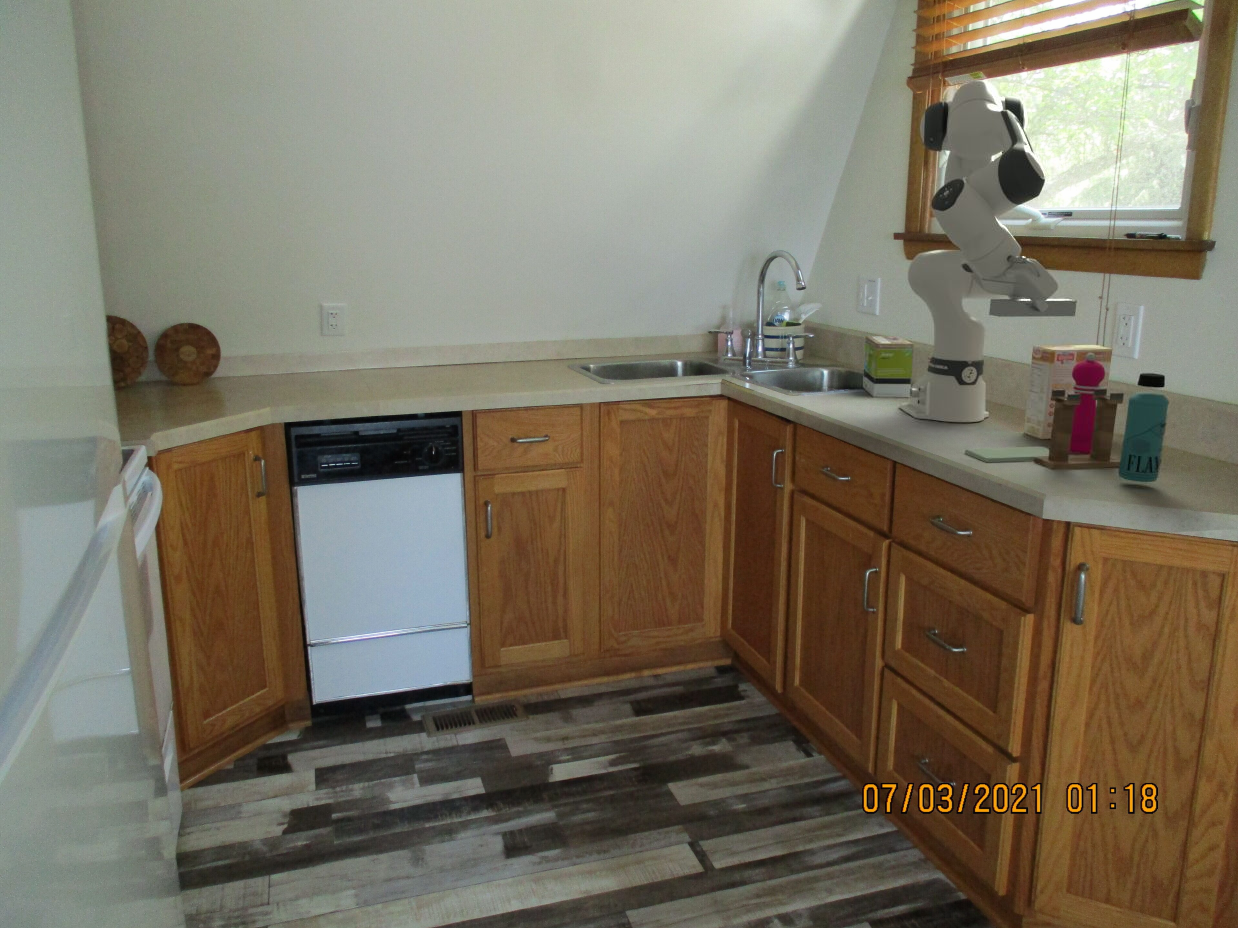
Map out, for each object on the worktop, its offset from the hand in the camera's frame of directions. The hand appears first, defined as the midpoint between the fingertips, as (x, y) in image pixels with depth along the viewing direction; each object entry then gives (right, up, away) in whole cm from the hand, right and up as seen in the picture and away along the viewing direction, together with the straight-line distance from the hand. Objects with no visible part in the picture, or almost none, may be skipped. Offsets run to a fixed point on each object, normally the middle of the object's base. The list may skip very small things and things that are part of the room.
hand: (1035, 308), depth 188 cm
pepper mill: (+14, -27, +13) cm, 33 cm away
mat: (-1, -28, +7) cm, 29 cm away
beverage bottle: (+12, -34, -14) cm, 39 cm away
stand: (+9, -30, +1) cm, 31 cm away
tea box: (-7, -11, +79) cm, 80 cm away
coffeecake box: (+17, -24, +28) cm, 40 cm away
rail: (-1, -1, 0) cm, 1 cm away
